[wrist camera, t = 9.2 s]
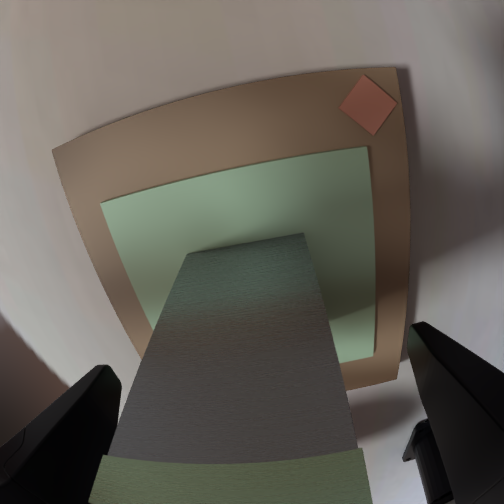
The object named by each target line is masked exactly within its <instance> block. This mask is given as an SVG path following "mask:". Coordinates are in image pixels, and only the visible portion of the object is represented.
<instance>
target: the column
mask: <svg viewBox="0 0 504 504" xmlns="http://www.w3.org/2000/svg"><path fill="white" fill-rule="evenodd" d="M88 502H89V503H91V504H373V503H372V498H371V492H370V486H369V481H368V475H367V470H366V465H365V460H364V455H363V450H362V448H358V446H357V441H356V436H355V431H354V426H353V421H352V417H351V412H350V407H349V403H348V398H347V394H346V390H345V385H344V381H343V377H342V372H341V368H340V364H339V360H338V356H337V352H336V348H335V344H334V340H333V336H332V332H331V328H330V324H329V321H328V317H327V313H326V309H325V306H324V302H323V298H322V295H321V291H320V287H319V284H318V280H317V277H316V273H315V270H314V266H313V263H312V259H311V256H310V253H309V249H308V246H307V242H306V239H305V236H304V232H303V233H297V234H292V235H286V236H281V237H275V238H270V239H264V240H259V241H253V242H248V243H242V244H237V245H232V246H226V247H221V248H216V249H210V250H205V251H200V252H194V253H189V254H187V255H186V257H185V259H184V261H183V263H182V266H181V268H180V270H179V272H178V275H177V277H176V279H175V281H174V284H173V286H172V288H171V291H170V293H169V295H168V298H167V300H166V302H165V305H164V307H163V309H162V312H161V314H160V316H159V319H158V321H157V324H156V326H155V328H154V331H153V333H152V336H151V338H150V341H149V343H148V346H147V348H146V351H145V353H144V356H143V358H142V361H141V363H140V366H139V369H138V371H137V374H136V376H135V379H134V382H133V384H132V387H131V390H130V392H129V395H128V398H127V400H126V403H125V406H124V409H123V411H122V414H121V417H120V420H119V423H118V425H117V428H116V431H115V434H114V437H113V440H112V443H111V446H110V449H109V452H108V455H103V457H102V460H101V463H100V466H99V469H98V472H97V475H96V478H95V481H94V485H93V488H92V491H91V494H90V498H89V501H88Z"/></svg>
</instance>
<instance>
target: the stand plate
mask: <svg viewBox="0 0 504 504" xmlns="http://www.w3.org/2000/svg"><path fill="white" fill-rule="evenodd" d="M52 153H53V157H54V160H55V163H56V167H57V170H58V173H59V176H60V179H61V182H62V186H63V189H64V191H65V194H66V197H67V200H68V203H69V206H70V209H71V211H72V214H73V217H74V219H75V222H76V225H77V227H78V230H79V232H80V235H81V237H82V240H83V242H84V245H85V247H86V249H87V252H88V254H89V257H90V259H91V261H92V263H93V266H94V268H95V270H96V272H97V275H98V277H99V279H100V281H101V283H102V285H103V287H104V290H105V292H106V294H107V296H108V298H109V300H110V302H111V304H112V306H113V308H114V310H115V312H116V314H117V316H118V318H119V320H120V321H121V323H122V325H123V327H124V329H125V331H126V333H127V335H128V336H129V338H130V340H131V342H132V344H133V345H134V347H135V349H136V351H137V352H138V354H139V356H140V358H141V359H142V358H143V356H144V353H145V351H146V348H147V346H148V343H149V341H150V338H151V336H152V333H153V331H154V328H155V326H156V324H157V321H158V319H159V316H160V314H161V312H162V309H163V307H164V305H165V302H166V300H167V298H168V295H169V293H170V291H171V288H172V286H173V284H174V281H175V279H176V277H177V275H178V272H179V270H180V268H181V266H182V263H183V261H184V259H185V257H186V255H187V254H189V253H194V252H200V251H205V250H210V249H216V248H221V247H226V246H232V245H237V244H242V243H248V242H253V241H259V240H264V239H270V238H275V237H281V236H286V235H292V234H297V233H303V232H304V236H305V239H306V242H307V246H308V249H309V253H310V256H311V259H312V263H313V266H314V270H315V273H316V277H317V280H318V284H319V287H320V291H321V295H322V298H323V302H324V306H325V309H326V313H327V317H328V321H329V324H330V328H331V332H332V336H333V340H334V344H335V348H336V352H337V356H338V360H339V364H340V368H341V372H342V377H343V381H344V385H345V390H346V391H348V390H353V389H357V388H362V387H366V386H371V385H375V384H379V383H383V382H387V381H391V380H395V379H397V375H398V369H399V363H400V357H401V350H402V343H403V335H404V327H405V318H406V308H407V297H408V283H409V265H410V185H409V168H408V154H407V143H406V133H405V124H404V116H403V109H402V102H401V95H400V89H399V83H398V78H397V72H396V67H383V68H361V69H347V70H335V71H325V72H316V73H308V74H301V75H294V76H287V77H281V78H275V79H269V80H263V81H258V82H253V83H248V84H243V85H238V86H234V87H229V88H225V89H221V90H217V91H213V92H209V93H205V94H201V95H197V96H193V97H190V98H186V99H183V100H179V101H176V102H173V103H169V104H166V105H163V106H160V107H157V108H154V109H150V110H147V111H145V112H142V113H139V114H136V115H133V116H130V117H128V118H125V119H122V120H119V121H117V122H114V123H112V124H109V125H107V126H104V127H102V128H99V129H97V130H94V131H92V132H89V133H87V134H85V135H82V136H80V137H78V138H76V139H73V140H71V141H69V142H67V143H65V144H63V145H60V146H58V147H56V148H54V149H52Z"/></svg>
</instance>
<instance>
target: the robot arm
mask: <svg viewBox="0 0 504 504" xmlns="http://www.w3.org/2000/svg"><path fill="white" fill-rule="evenodd" d="M407 351H408V355H409V358H410V362H411V365H412V369H413V372H414V376H415V380H416V383H417V387H418V391H419V395H420V398H421V401H422V404H423V406H424V409H425V411H426V414H427V417H428V419H429V421H427V422H424V423H421V424H419V425H417V426H416V427H415V428H414V430H413V432H412V435H411V438H410V440H409V442H408V445H407V447H406V450H405V452H404V454H403V457H402V459H403V462H406V461H410V460H413V459H416V462H417V466H418V469H419V473H420V477H421V480H422V484H423V488H424V492H425V496H426V500H427V504H504V373H503V372H502V371H500V370H499V369H497V368H496V367H494V366H493V365H491V364H490V363H488V362H487V361H485V360H484V359H482V358H481V357H479V356H478V355H476V354H475V353H473V352H471V351H470V350H468V349H467V348H465V347H464V346H462V345H461V344H459V343H458V342H456V341H455V340H453V339H451V338H450V337H448V336H447V335H445V334H444V333H442V332H441V331H439V330H437V329H436V328H434V327H433V326H431V325H430V324H428V323H426V322H424V321H422V322H418V323H414V324H412V325H411V326H410V329H409V336H408V343H407ZM121 390H122V385H121V382H120V380H119V379H118V377H117V376H116V374H115V373H114V371H113V370H112V368H111V367H110V366H109V365H97V366H95V367H94V368H93V369H92V370H90V371H89V372H88V373H87V374H86V375H85V376H83V377H82V378H81V379H80V380H79V381H78V382H76V383H75V384H74V385H73V386H72V387H71V388H69V389H68V390H67V391H66V392H65V393H64V394H62V395H61V396H60V397H59V398H58V399H57V400H55V401H54V402H53V403H52V404H51V405H50V406H49V407H47V408H46V409H45V410H44V411H43V412H41V413H40V414H39V415H38V416H37V417H36V418H35V419H33V420H32V421H31V422H30V423H29V424H28V425H26V427H24V428H23V429H22V430H21V431H20V432H18V433H17V434H16V435H15V436H14V437H12V438H11V439H10V440H9V441H8V442H6V443H5V444H4V445H2V446H1V447H0V504H91V503H89V502H88V501H89V498H90V494H91V491H92V488H93V485H94V481H95V478H96V475H97V472H98V469H99V466H100V463H101V460H102V457H103V455H108V452H109V449H110V446H111V443H112V440H113V437H114V434H115V431H116V428H117V424H118V415H119V406H120V398H121Z"/></svg>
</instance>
